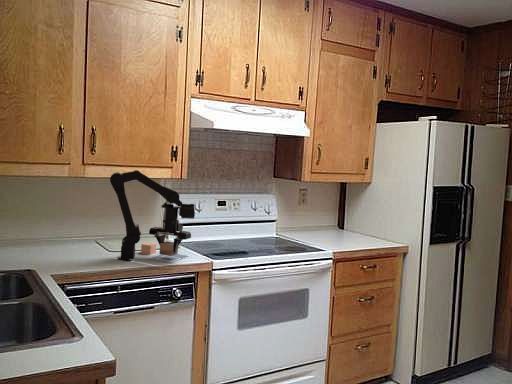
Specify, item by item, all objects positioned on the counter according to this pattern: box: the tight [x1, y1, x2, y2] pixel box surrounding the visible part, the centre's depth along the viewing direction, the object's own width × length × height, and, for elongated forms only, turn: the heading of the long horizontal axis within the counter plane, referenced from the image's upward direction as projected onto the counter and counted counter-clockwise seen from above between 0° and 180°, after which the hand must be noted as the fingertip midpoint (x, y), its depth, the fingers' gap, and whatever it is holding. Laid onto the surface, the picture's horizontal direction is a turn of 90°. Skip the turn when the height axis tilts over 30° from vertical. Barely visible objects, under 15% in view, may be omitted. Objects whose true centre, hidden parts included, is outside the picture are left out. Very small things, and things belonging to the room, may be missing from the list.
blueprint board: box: [146, 253, 190, 264], centre depth 225 cm, size 18×12×1 cm, turn 161°
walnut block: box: [158, 241, 179, 256], centre depth 223 cm, size 6×6×5 cm
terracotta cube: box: [140, 242, 157, 256], centre depth 231 cm, size 5×5×5 cm
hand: (168, 251), depth 223 cm, fingers closed on walnut block, 6 cm apart
